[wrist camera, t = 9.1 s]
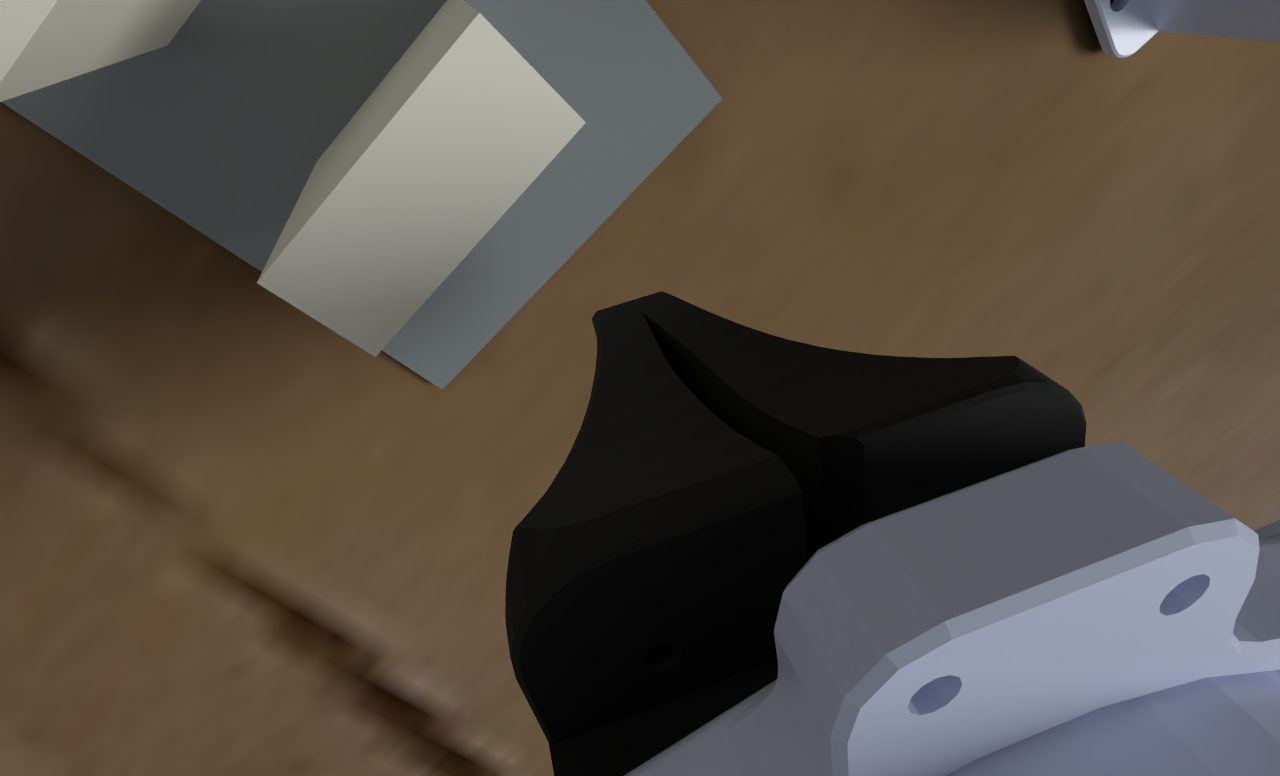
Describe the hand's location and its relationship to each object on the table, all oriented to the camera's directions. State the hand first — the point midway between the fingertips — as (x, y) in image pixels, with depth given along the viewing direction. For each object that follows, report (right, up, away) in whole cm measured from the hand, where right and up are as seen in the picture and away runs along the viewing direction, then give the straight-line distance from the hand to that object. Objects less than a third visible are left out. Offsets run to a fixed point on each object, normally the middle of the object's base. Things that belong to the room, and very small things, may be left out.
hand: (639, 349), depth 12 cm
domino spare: (-4, +5, +1) cm, 6 cm away
